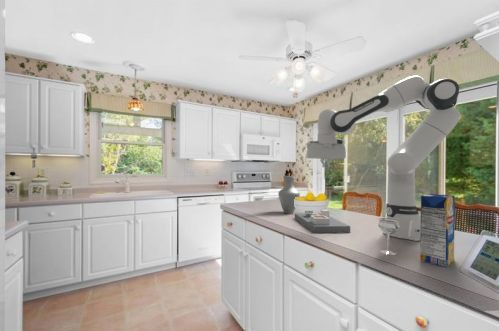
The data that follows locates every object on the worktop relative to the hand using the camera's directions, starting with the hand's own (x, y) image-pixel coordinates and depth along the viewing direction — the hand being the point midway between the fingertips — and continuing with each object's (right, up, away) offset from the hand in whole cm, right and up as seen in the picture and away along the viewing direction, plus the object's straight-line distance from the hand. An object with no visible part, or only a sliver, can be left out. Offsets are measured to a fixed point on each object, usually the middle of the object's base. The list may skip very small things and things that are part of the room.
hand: (325, 167), depth 125 cm
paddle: (+1, -28, +6) cm, 28 cm away
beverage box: (+24, -31, -44) cm, 59 cm away
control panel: (-2, -31, +5) cm, 32 cm away
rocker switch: (-6, -26, +11) cm, 29 cm away
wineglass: (+11, -31, -37) cm, 50 cm away
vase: (-13, -31, +38) cm, 51 cm away
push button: (-5, -28, -5) cm, 28 cm away
